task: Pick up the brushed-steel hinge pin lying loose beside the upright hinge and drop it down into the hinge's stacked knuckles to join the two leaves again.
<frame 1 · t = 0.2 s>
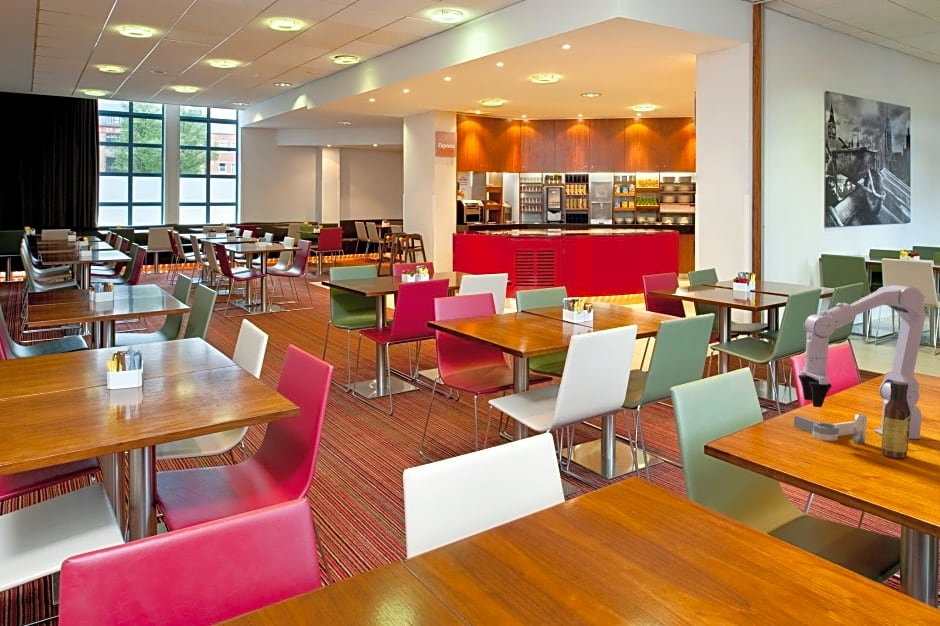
hand: (812, 403, 209), 10 cm above the table, tool pointing down, fingers open, 7 cm apart
sauce bottle: (893, 456, 194), on the table
hinge: (824, 437, 209), on the table
hinge pin: (858, 442, 205), on the table
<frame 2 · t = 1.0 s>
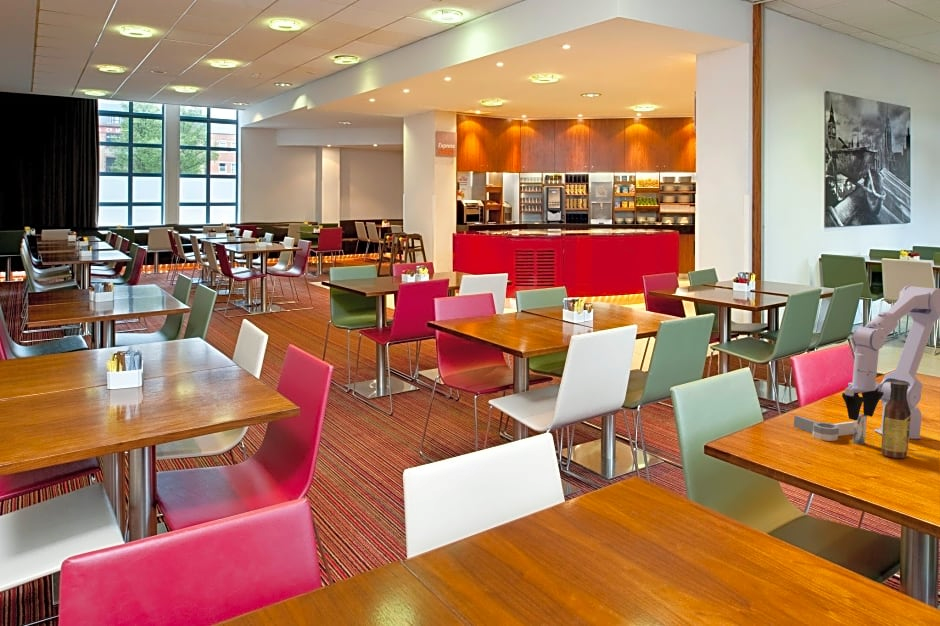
hand: (860, 417, 204), 7 cm above the table, tool pointing down, fingers open, 7 cm apart
nothing on the table moved.
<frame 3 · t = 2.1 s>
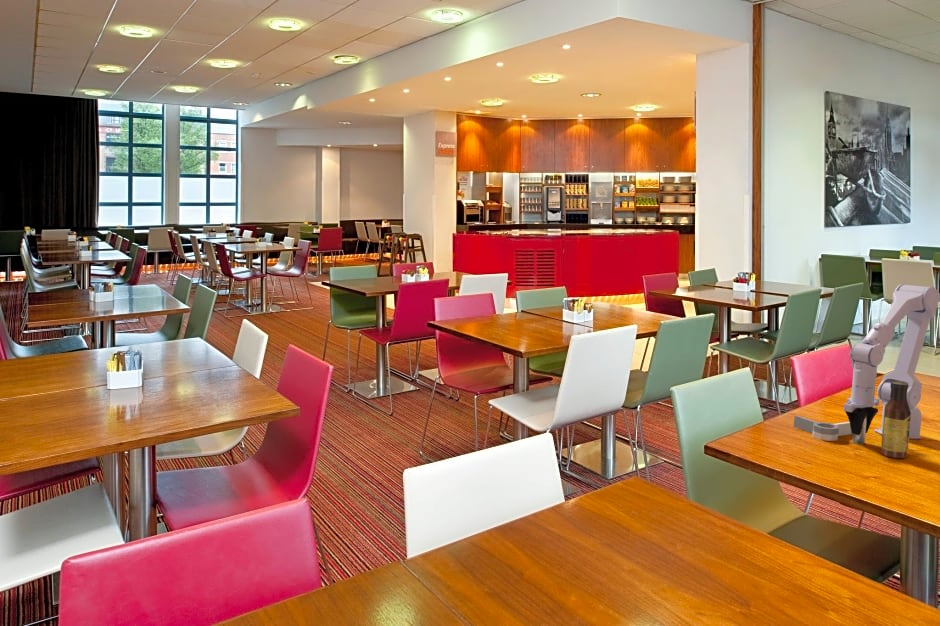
hand: (859, 433, 204), 3 cm above the table, tool pointing down, fingers closed on hinge pin, 3 cm apart
hinge pin: (858, 442, 205), on the table, touching gripper
everything else where it was.
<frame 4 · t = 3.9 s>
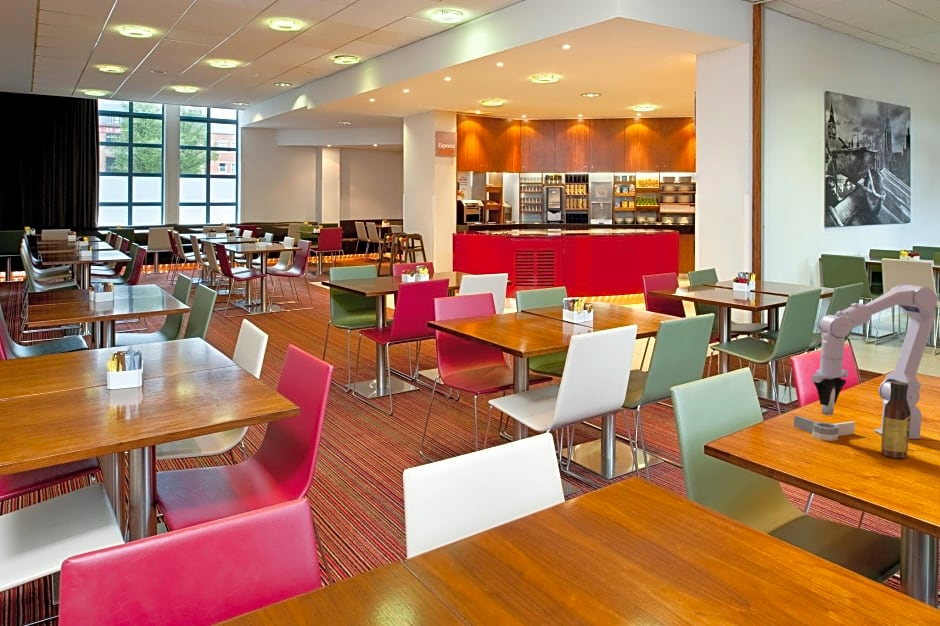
hand: (827, 403, 208), 10 cm above the table, tool pointing down, fingers closed on hinge pin, 3 cm apart
hinge pin: (827, 413, 208), point 7 cm above the table, touching gripper
everything else where it was.
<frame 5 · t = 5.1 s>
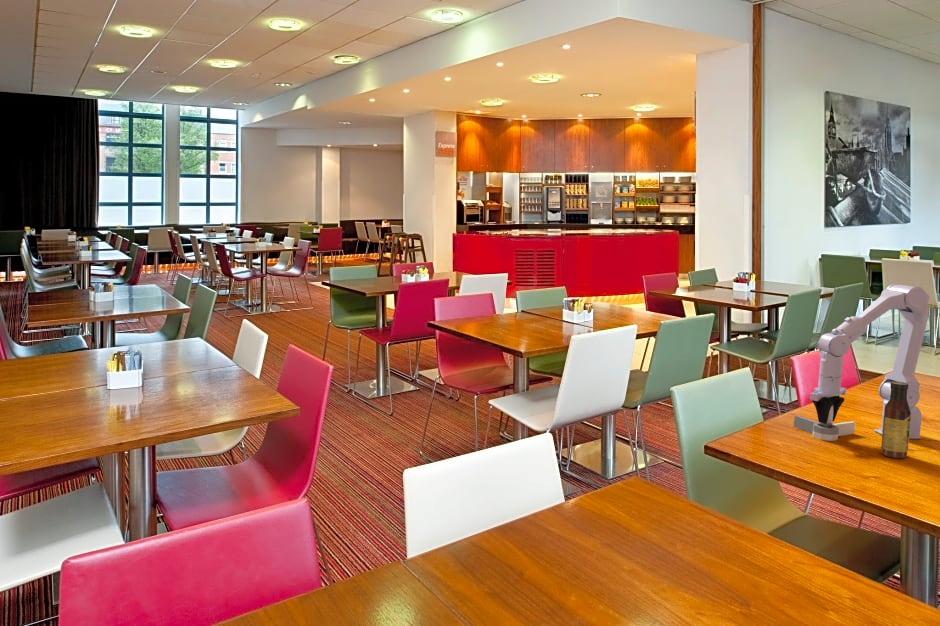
hand: (826, 421, 209), 5 cm above the table, tool pointing down, fingers closed on hinge pin, 3 cm apart
hinge pin: (825, 431, 209), point 2 cm above the table, touching gripper
everything else where it was.
when the fingers open (4 cm above the table, at t = 5.9 s): hinge pin drops 2 cm, on the table.
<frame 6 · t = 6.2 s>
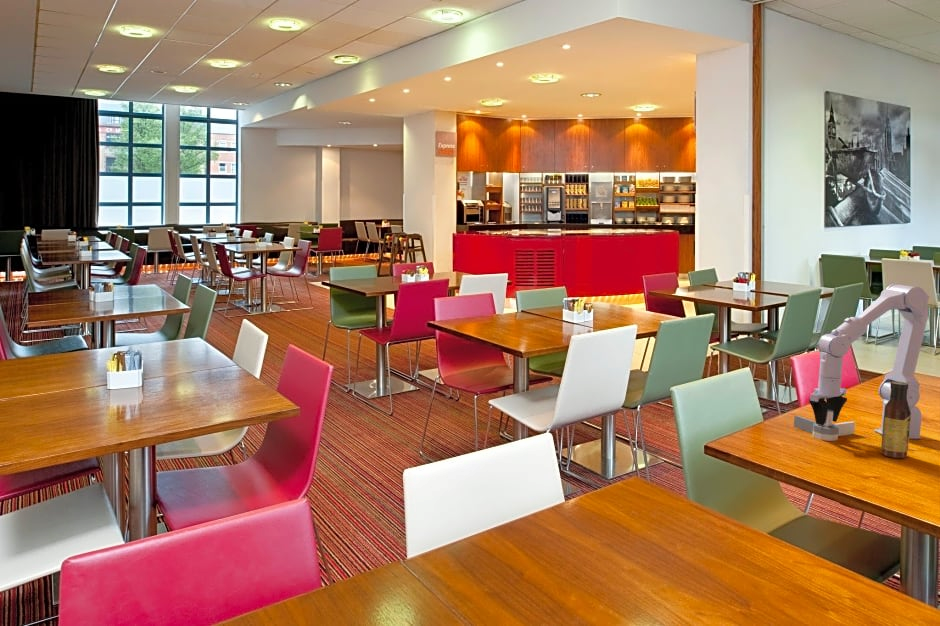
hand: (826, 422, 209), 4 cm above the table, tool pointing down, fingers open, 6 cm apart
hinge pin: (825, 437, 209), on the table
everything else where it was.
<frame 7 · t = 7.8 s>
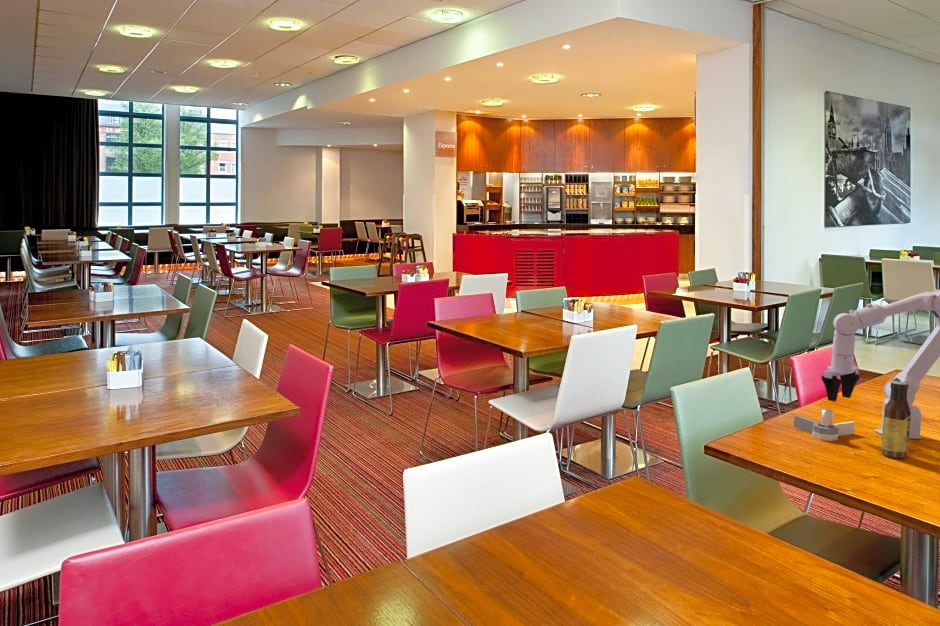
hand: (839, 399, 216), 9 cm above the table, tool pointing down, fingers open, 7 cm apart
nothing on the table moved.
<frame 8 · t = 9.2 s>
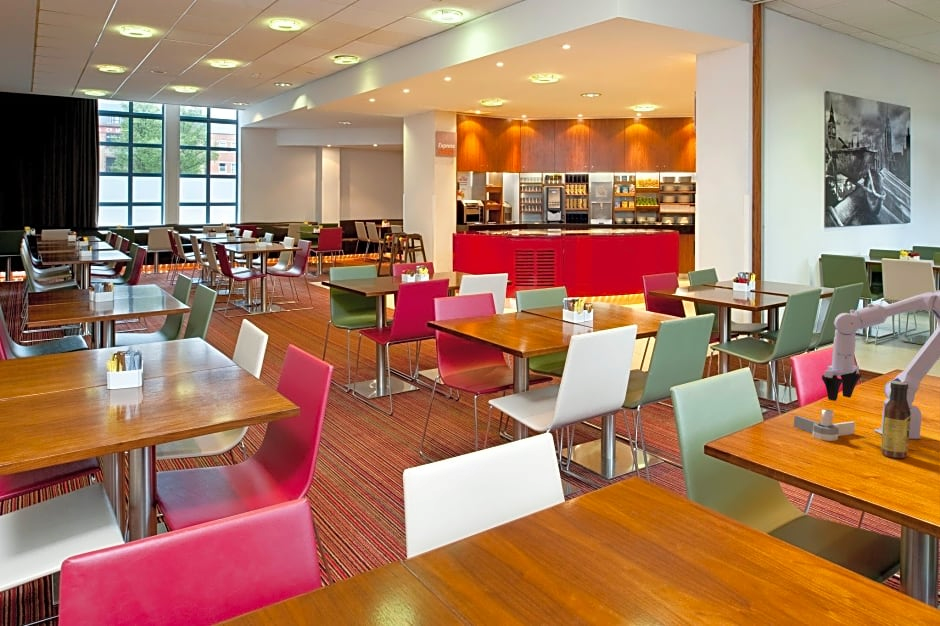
hand: (839, 398, 216), 9 cm above the table, tool pointing down, fingers open, 7 cm apart
nothing on the table moved.
at the end: hinge pin 0.1 cm off-centre on the hinge, point 0.0 cm above the hinge's base; hinge pin tilted 0°; the gripper is holding nothing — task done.
